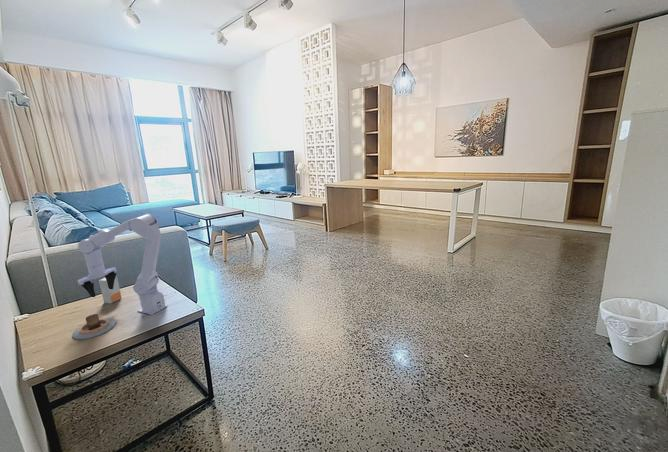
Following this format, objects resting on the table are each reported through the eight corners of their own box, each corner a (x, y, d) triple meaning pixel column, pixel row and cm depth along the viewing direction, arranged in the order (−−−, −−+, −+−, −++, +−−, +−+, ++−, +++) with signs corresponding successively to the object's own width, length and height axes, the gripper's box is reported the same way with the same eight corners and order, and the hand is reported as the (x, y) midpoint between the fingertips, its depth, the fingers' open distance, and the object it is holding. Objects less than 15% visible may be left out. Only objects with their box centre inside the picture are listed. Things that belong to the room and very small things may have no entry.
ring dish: (124, 322, 122) (123, 318, 122) (87, 342, 110) (86, 338, 109) (102, 316, 127) (101, 313, 127) (64, 335, 114) (63, 331, 114)
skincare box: (111, 303, 138) (105, 280, 135) (103, 303, 139) (98, 280, 136) (122, 297, 144) (117, 275, 141) (115, 296, 145) (110, 275, 142)
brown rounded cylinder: (103, 325, 119) (100, 315, 118) (92, 331, 116) (89, 320, 114) (96, 323, 121) (94, 313, 119) (86, 329, 117) (83, 318, 116)
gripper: (106, 257, 134) (113, 284, 137) (70, 269, 121) (78, 298, 124) (117, 259, 131) (123, 286, 135) (80, 271, 118) (88, 301, 122)
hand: (102, 292), depth 129 cm, fingers open, 7 cm apart
